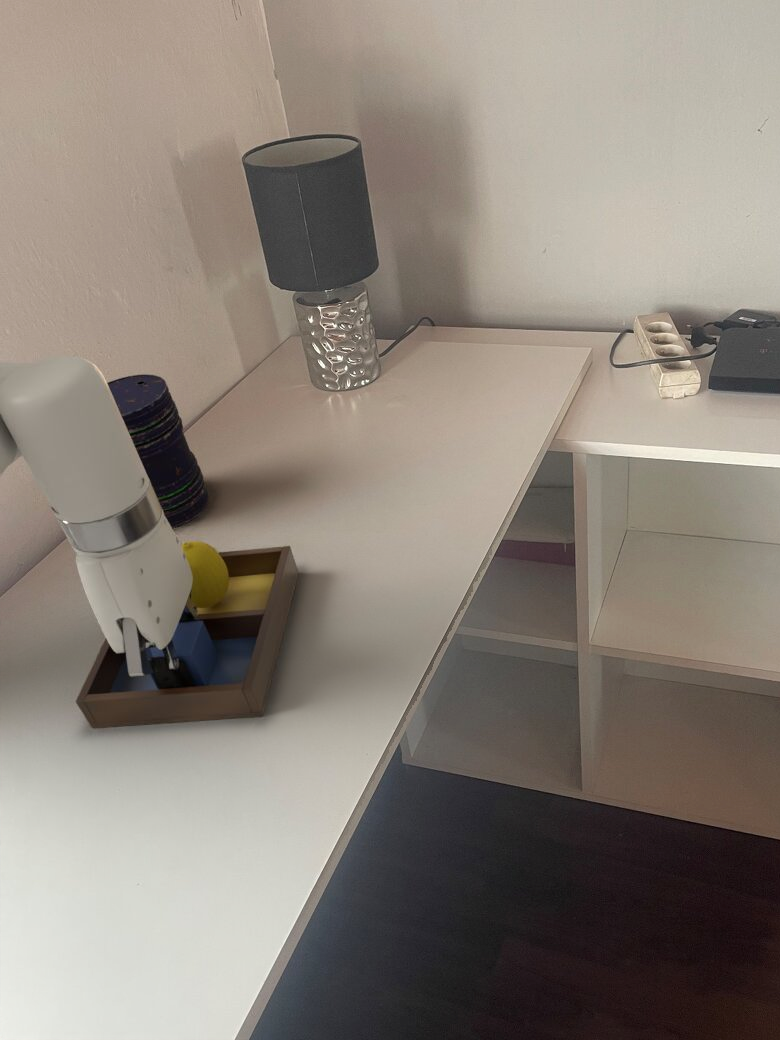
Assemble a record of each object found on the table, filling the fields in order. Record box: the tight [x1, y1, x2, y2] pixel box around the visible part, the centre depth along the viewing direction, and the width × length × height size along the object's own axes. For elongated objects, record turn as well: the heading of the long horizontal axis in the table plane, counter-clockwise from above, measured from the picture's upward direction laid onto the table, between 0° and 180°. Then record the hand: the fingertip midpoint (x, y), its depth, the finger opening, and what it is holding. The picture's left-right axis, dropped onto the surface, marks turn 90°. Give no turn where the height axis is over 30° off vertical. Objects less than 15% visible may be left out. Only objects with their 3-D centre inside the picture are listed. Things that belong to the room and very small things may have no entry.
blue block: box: [150, 621, 218, 689], centre depth 79 cm, size 4×4×4 cm
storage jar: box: [107, 373, 210, 529], centre depth 100 cm, size 10×10×15 cm
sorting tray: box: [75, 545, 300, 729], centre depth 84 cm, size 16×20×4 cm
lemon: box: [180, 540, 229, 608], centre depth 85 cm, size 6×6×8 cm
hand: (188, 671), depth 80 cm, fingers closed on blue block, 4 cm apart
